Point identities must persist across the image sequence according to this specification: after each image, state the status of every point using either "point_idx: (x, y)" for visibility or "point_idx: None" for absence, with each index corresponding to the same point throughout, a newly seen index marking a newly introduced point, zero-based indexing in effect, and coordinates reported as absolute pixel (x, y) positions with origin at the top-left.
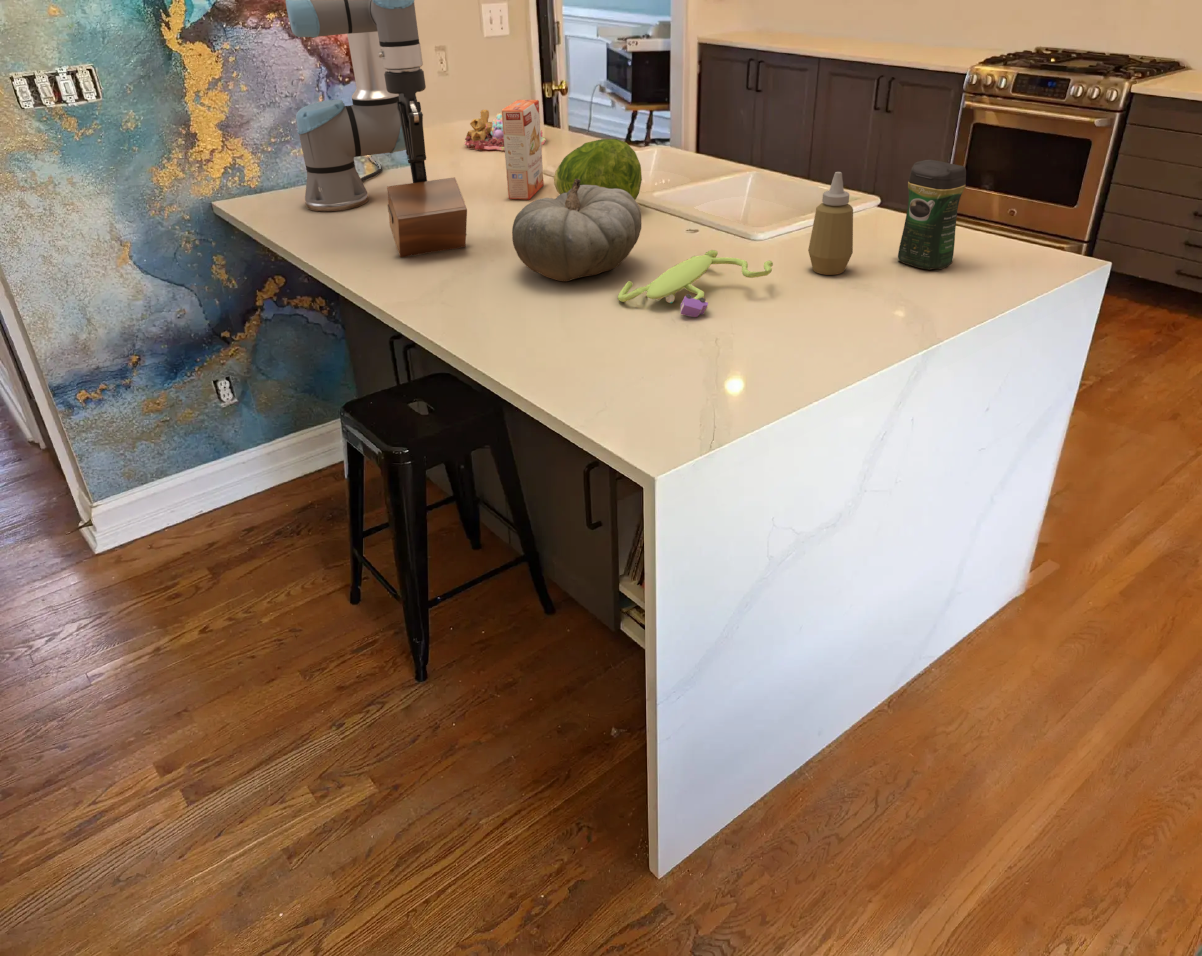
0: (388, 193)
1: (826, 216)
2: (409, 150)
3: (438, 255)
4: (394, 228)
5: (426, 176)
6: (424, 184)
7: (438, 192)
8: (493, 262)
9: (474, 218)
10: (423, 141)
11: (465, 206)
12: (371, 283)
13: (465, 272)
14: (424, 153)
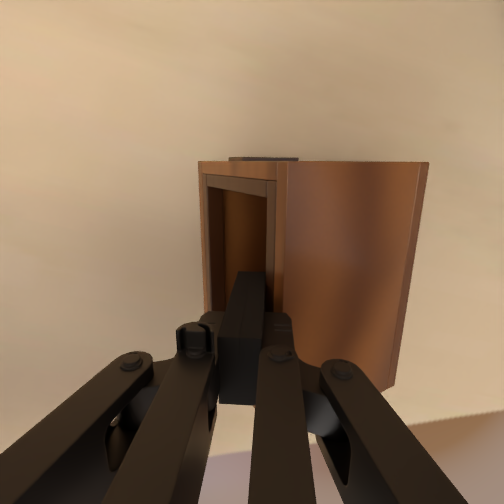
0: None
1: None
2: (208, 450)
3: None
4: None
5: (263, 300)
6: (297, 309)
7: (344, 256)
8: (463, 128)
9: (56, 66)
10: (455, 494)
11: (420, 164)
12: (419, 391)
13: (486, 213)
14: (381, 400)
